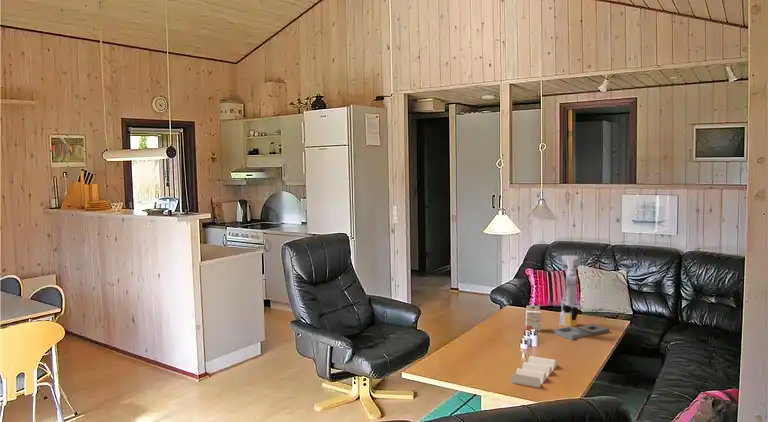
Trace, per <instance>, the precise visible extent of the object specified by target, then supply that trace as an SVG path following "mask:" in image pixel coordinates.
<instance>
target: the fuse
mask: <svg viewBox="0 0 768 422" xmlns="http://www.w3.org/2000/svg"><path fill="white" fill-rule="evenodd" d="M565 325H567V326H566V327H568V326H574V327H577V326H578V316H577V317H576V320H572V313H571V312H568V313H565Z"/></svg>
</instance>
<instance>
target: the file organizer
mask: <svg viewBox="0 0 768 422" xmlns="http://www.w3.org/2000/svg"><path fill="white" fill-rule="evenodd" d="M557 366H558V362H557V359H552V358H545V357H538V356H532V355H529V357H528V359H527V362H526V361H523V363H522V366H521V368H519V367H517V368H516V371H515V373H513V372H511V373H510V383H511V384H515V385H516V384H517V385H522V386H527V387H534V388H540V387H541V386H542V385H543V384H544V383H545V381H546V380H547V379H548V377H549V376H550V375H551V374H552V373H553V371H554V370H555V369H556V368H557Z"/></svg>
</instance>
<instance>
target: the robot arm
mask: <svg viewBox="0 0 768 422" xmlns="http://www.w3.org/2000/svg"><path fill="white" fill-rule="evenodd" d="M561 259H562V260H561V267H562V269H563V270H565V274H566V276H565V289H566V296H564V297H563V298H561V302H560V305H561V311H560V312H559V323H558V326H562V325H563V326H565V327H572V328H575V326H567V325H565V313H568V312H571V313H572V320H576V317H577V318H578V314H579V312H580V310H582V308H583V306H582V305H580V304H579V300H578V298H577V293H578V292H577V291H578V282H579V280H578V275H577V270H578V268H579V266H580V263H579V261H580V257H579V255H562V257H561Z"/></svg>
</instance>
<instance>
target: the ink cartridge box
mask: <svg viewBox="0 0 768 422" xmlns="http://www.w3.org/2000/svg"><path fill="white" fill-rule="evenodd" d="M525 308H526V309H525V330H526V331H527V330H529V329H535V330H537V331H536V332H541V330H542V327H541V326H542V325H541V324H542V312H541V310H540V309H541V306H540V305H526V307H525Z"/></svg>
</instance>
